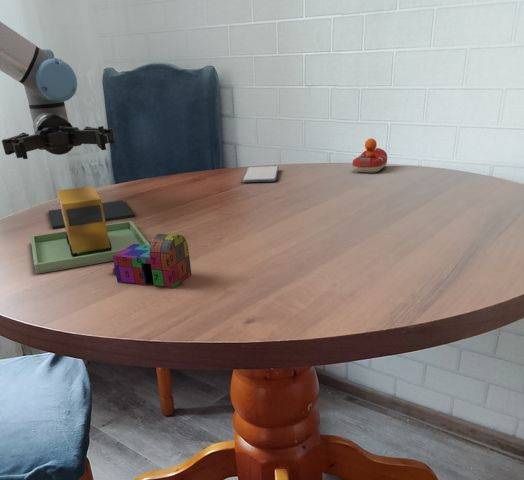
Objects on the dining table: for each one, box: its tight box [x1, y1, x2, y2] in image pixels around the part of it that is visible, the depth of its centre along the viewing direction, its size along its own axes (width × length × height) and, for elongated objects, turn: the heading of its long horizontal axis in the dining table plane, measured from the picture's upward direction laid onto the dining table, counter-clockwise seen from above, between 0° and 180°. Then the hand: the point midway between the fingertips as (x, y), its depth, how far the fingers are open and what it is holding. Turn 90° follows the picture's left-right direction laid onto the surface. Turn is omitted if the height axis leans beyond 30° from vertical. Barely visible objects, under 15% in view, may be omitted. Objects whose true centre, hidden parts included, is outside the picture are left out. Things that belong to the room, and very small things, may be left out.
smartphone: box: [242, 165, 279, 183], centre depth 139 cm, size 8×1×15 cm
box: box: [30, 220, 151, 275], centre depth 93 cm, size 18×17×2 cm
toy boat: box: [351, 138, 388, 174], centre depth 139 cm, size 8×12×8 cm, turn 155°
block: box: [112, 232, 192, 289], centre depth 79 cm, size 12×8×7 cm
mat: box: [48, 200, 135, 230], centre depth 114 cm, size 16×14×1 cm
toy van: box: [56, 185, 112, 256], centre depth 91 cm, size 7×11×9 cm, turn 22°
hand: (64, 146), depth 96 cm, fingers open, 13 cm apart
